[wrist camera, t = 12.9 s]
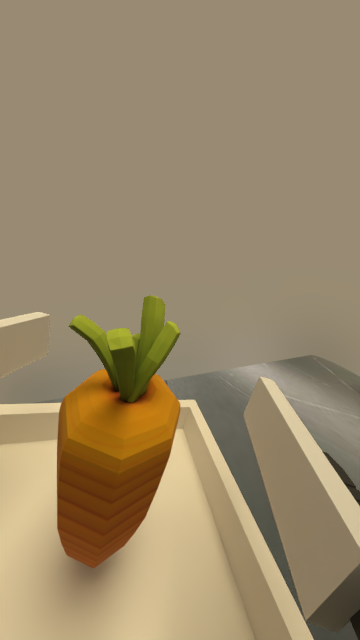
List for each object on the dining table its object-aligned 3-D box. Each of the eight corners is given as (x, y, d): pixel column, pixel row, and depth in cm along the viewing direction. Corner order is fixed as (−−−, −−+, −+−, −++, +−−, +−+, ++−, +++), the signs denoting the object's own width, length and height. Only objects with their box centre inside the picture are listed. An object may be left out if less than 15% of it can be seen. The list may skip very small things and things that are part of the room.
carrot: (71, 685, 7) (157, 348, 3) (23, 559, 9) (32, 275, 5) (154, 538, 11) (235, 320, 7) (106, 477, 13) (147, 286, 9)
